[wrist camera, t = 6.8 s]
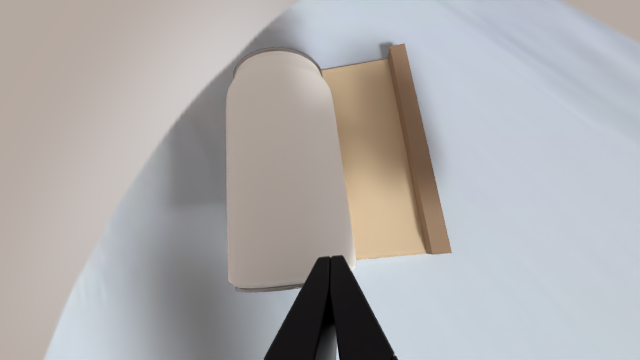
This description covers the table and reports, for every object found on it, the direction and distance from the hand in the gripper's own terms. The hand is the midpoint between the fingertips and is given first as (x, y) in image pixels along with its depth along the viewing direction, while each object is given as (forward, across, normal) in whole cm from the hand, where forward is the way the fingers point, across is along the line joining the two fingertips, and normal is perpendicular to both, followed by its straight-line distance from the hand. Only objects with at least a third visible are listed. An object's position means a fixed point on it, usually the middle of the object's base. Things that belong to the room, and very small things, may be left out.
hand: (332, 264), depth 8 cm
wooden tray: (+10, 0, +1) cm, 10 cm away
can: (+2, +2, +4) cm, 5 cm away
